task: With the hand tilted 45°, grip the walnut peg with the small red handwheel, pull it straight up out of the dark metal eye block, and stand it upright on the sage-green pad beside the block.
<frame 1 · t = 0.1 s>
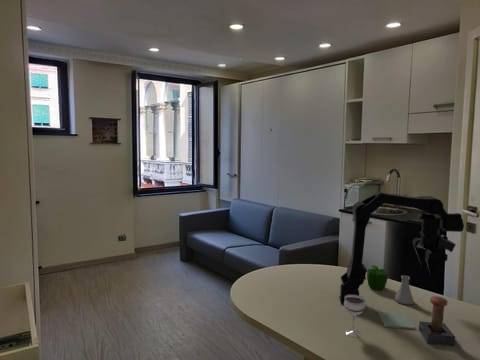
hand: (427, 270, 136), 15 cm above the table, tool pointing down, fingers open, 9 cm apart
eye block: (435, 337, 118), on the table
green pad: (395, 320, 128), on the table
bell pepper: (376, 288, 155), on the table
walnut peg: (437, 318, 117), in the eye block
flask: (403, 301, 143), on the table
wineglass: (352, 333, 120), on the table
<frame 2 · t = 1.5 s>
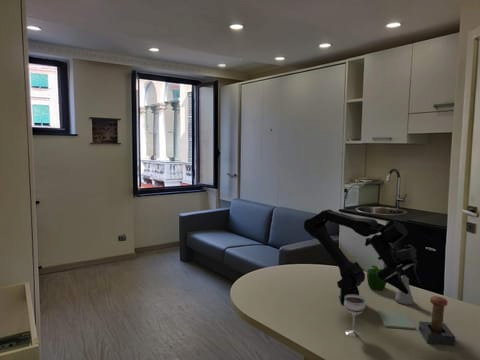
hand: (413, 289, 122), 14 cm above the table, tool tilted 45°, fingers open, 9 cm apart
nothing on the table moved.
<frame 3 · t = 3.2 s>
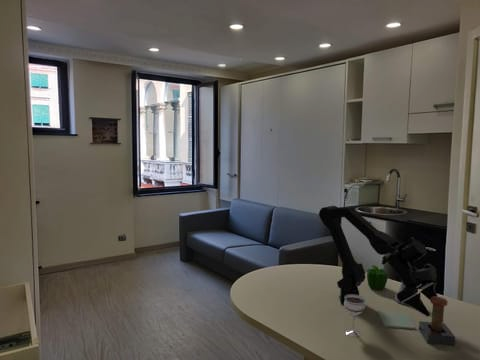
hand: (434, 311, 117), 9 cm above the table, tool tilted 45°, fingers open, 9 cm apart
nothing on the table moved.
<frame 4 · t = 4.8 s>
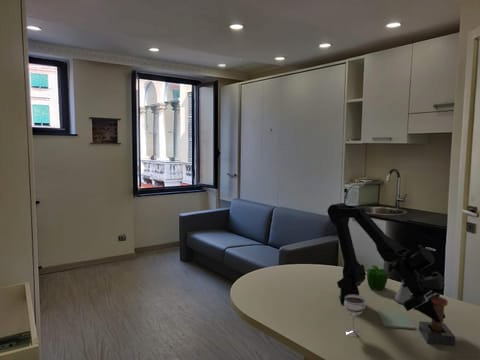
hand: (441, 320, 116), 7 cm above the table, tool tilted 45°, fingers closed on walnut peg, 3 cm apart
walnut peg: (437, 318, 117), in the eye block, touching gripper
everything else where it was.
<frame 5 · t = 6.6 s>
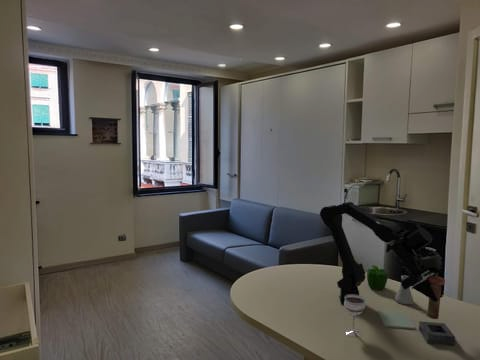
hand: (439, 299, 116), 13 cm above the table, tool tilted 45°, fingers closed on walnut peg, 3 cm apart
walnut peg: (434, 297, 117), point 13 cm above the table, touching gripper
everything else where it was.
when the fingers open (9 cm above the table, at t = 8.7 s): walnut peg drops 1 cm, resting on green pad.
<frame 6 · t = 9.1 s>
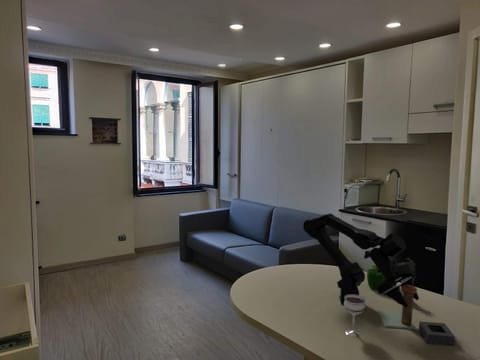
hand: (412, 303, 123), 9 cm above the table, tool tilted 45°, fingers open, 8 cm apart
walnut peg: (407, 305, 124), on the green pad, point 7 cm above the table
everything else where it was.
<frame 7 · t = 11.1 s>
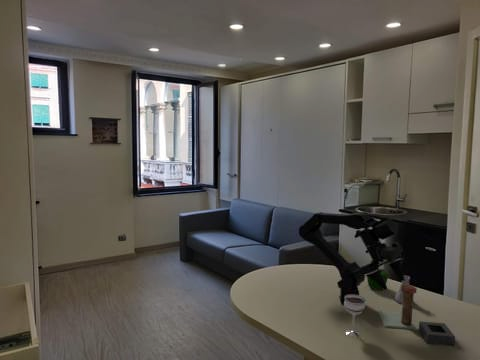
hand: (394, 284, 128), 13 cm above the table, tool tilted 35°, fingers open, 9 cm apart
nothing on the table moved.
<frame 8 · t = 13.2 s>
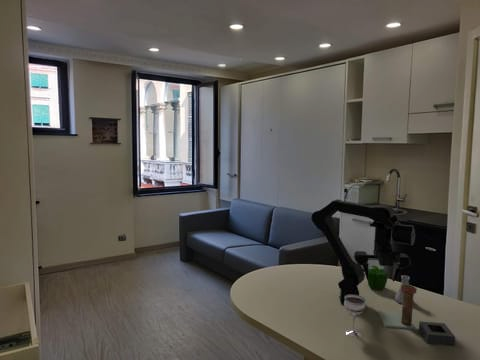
hand: (380, 280, 133), 12 cm above the table, tool pointing down, fingers open, 9 cm apart
nothing on the table moved.
at the end: walnut peg inside the target area on the green pad (3.7 cm from its centre), point 7.1 cm above the green pad's base; walnut peg tilted 0°; the gripper is holding nothing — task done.
